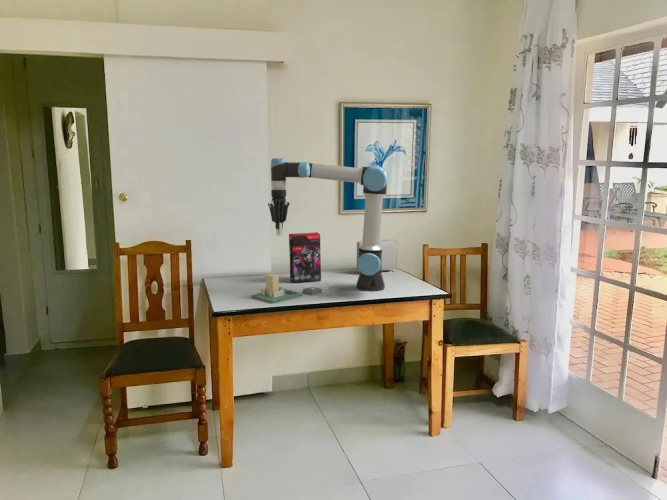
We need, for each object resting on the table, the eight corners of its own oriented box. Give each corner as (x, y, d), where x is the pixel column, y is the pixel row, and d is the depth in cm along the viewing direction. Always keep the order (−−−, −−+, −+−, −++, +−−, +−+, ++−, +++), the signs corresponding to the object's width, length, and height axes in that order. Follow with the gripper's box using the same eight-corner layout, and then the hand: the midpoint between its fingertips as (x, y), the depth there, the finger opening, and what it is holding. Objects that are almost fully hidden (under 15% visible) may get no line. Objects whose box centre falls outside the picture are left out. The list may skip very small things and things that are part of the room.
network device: (360, 275, 316) (361, 242, 313) (354, 273, 324) (354, 240, 321) (398, 272, 326) (399, 240, 323) (391, 269, 334) (392, 238, 331)
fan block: (322, 292, 276) (322, 288, 275) (312, 295, 271) (312, 290, 270) (312, 290, 281) (312, 285, 280) (302, 292, 275) (302, 288, 275)
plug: (279, 294, 266) (278, 275, 265) (272, 296, 263) (272, 276, 262) (271, 292, 270) (271, 273, 268) (265, 294, 267) (265, 274, 265)
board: (302, 295, 269) (302, 288, 269) (272, 303, 255) (272, 295, 254) (281, 290, 280) (281, 283, 279) (251, 297, 265) (251, 290, 265)
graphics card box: (292, 283, 296) (291, 235, 291) (288, 281, 302) (288, 233, 298) (321, 281, 302) (321, 233, 297) (317, 278, 308) (317, 232, 304)
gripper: (283, 188, 278) (283, 233, 282) (263, 189, 268) (264, 235, 272) (293, 188, 273) (293, 234, 277) (273, 189, 263) (274, 237, 267)
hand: (279, 235), depth 274 cm, fingers closed
